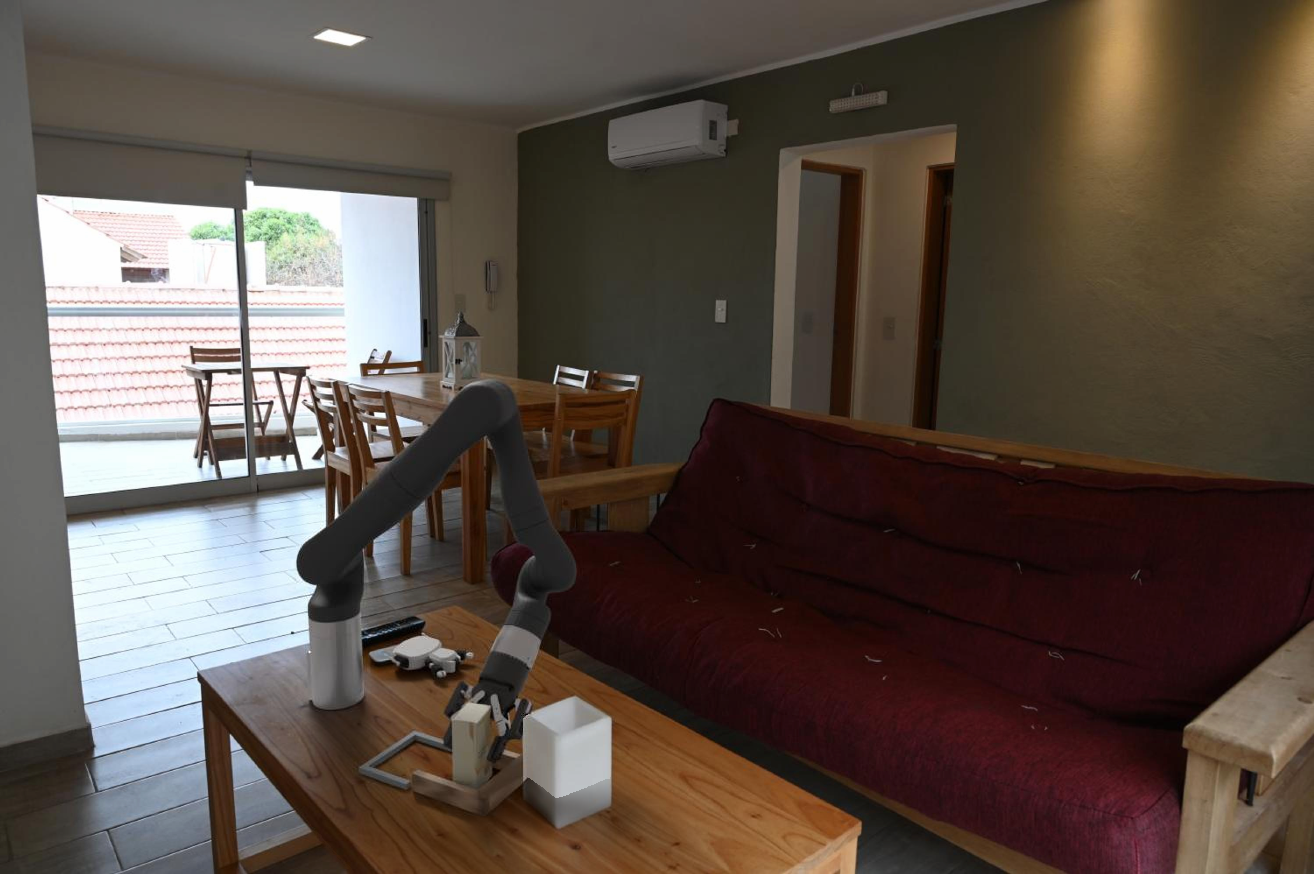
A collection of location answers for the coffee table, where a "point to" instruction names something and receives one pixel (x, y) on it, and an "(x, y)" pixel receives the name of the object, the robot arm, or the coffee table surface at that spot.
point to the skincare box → (472, 745)
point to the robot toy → (428, 656)
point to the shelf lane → (472, 798)
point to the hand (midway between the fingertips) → (468, 754)
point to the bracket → (384, 776)
